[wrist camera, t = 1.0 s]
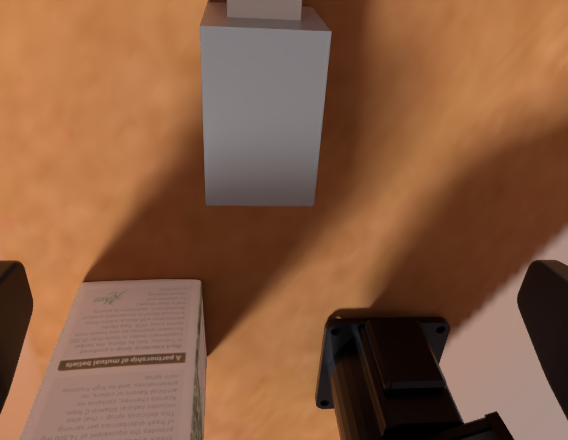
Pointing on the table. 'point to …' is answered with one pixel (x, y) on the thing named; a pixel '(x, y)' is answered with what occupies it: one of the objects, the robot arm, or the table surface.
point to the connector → (262, 101)
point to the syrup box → (126, 365)
